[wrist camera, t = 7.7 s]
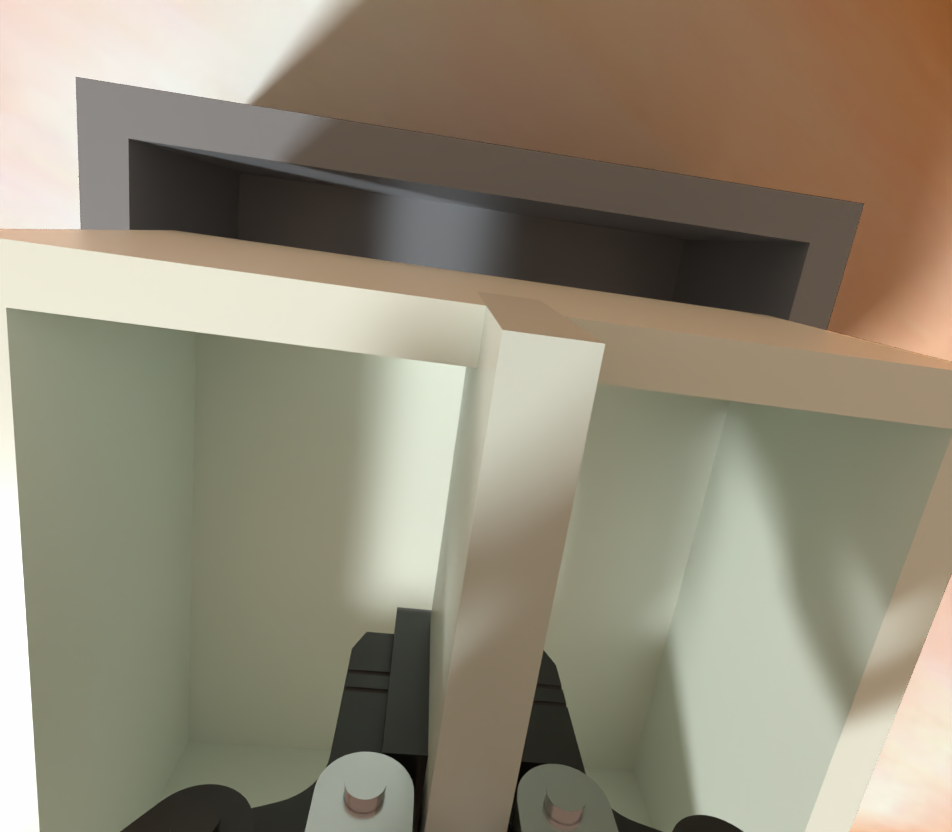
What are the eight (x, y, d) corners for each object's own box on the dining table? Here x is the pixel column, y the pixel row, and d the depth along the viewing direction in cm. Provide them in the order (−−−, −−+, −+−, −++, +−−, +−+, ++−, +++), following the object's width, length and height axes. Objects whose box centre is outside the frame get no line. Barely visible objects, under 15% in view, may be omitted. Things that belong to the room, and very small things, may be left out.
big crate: (709, 214, 26) (864, 203, 17) (614, 626, 32) (689, 794, 22) (217, 137, 25) (75, 77, 15) (206, 590, 30) (97, 757, 21)
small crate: (767, 315, 15) (1200, 424, 7) (643, 771, 19) (815, 1218, 10) (174, 230, 14) (-259, 226, 5) (169, 739, 18) (-86, 1224, 9)
